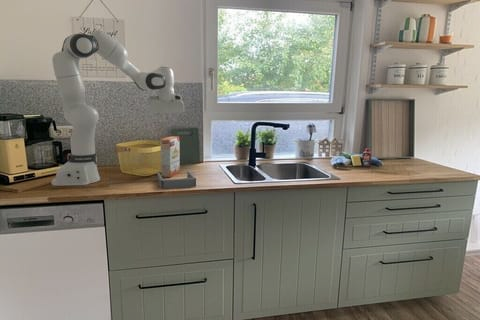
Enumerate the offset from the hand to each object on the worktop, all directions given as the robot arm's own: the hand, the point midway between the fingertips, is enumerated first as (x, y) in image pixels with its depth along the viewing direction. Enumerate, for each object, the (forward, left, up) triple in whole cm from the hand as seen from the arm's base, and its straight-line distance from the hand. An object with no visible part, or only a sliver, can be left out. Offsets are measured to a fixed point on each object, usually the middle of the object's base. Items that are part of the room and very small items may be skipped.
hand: (166, 120), depth 198 cm
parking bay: (0, -30, -29) cm, 42 cm away
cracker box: (0, -12, -29) cm, 32 cm away
